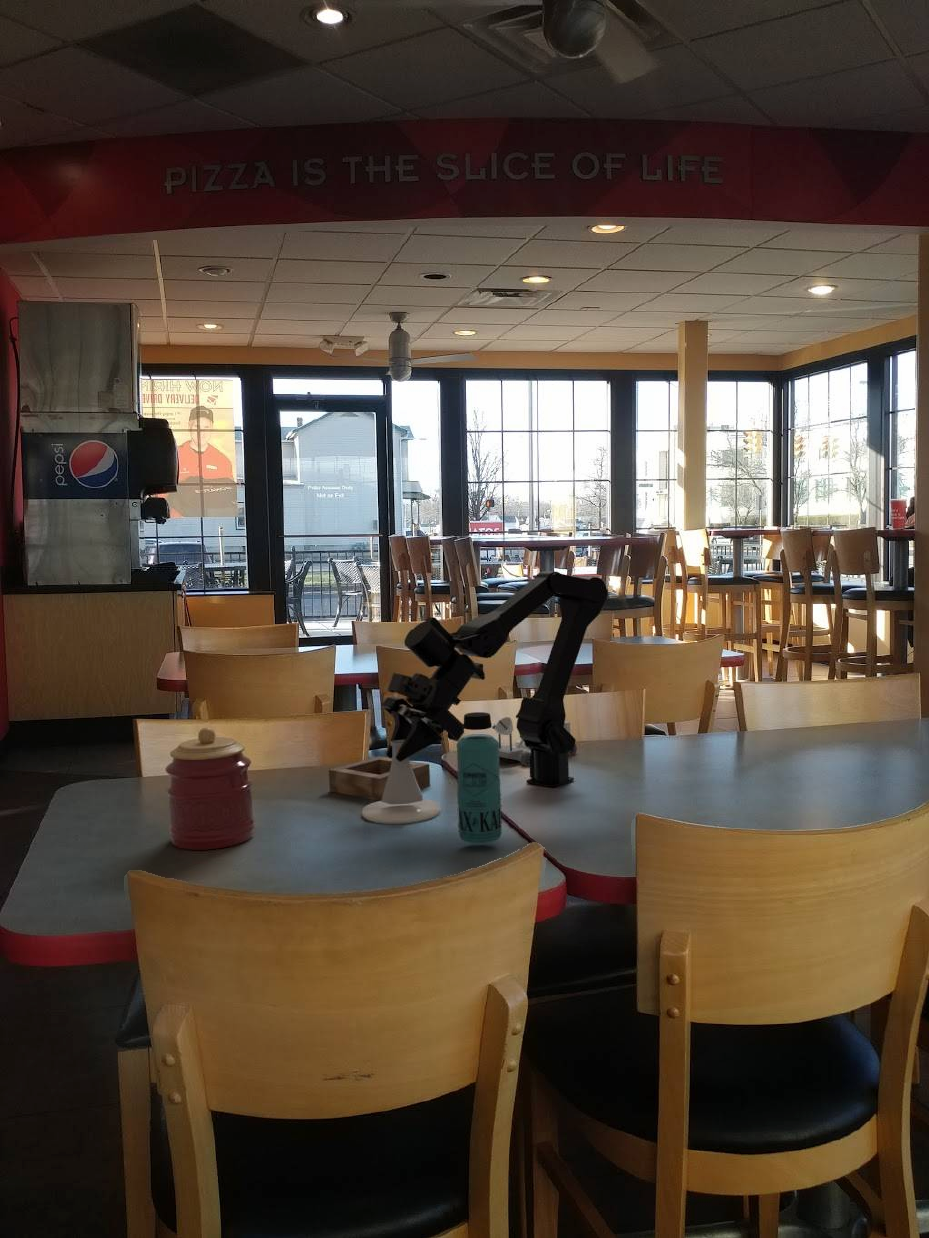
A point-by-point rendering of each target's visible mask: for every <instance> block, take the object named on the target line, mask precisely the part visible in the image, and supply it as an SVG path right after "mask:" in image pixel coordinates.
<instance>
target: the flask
mask: <svg viewBox="0 0 929 1238" xmlns="http://www.w3.org/2000/svg"><path fill="white" fill-rule="evenodd" d="M390 741H391V740H390ZM390 741H389V744H391V746H392V763H391V768H390V772H389V775H388V779H387V783H386V786H385V789H384V793H383V796H382V800H381V802H384V803H388V804H409V803H414V802H418V801H422V800H423V799H424V797H423V793H422V791H421V788H419V786H418V783H417V781H416V778H415V775H414V773H413V770H412V767H411V765H410V761H411V760H410V757H408V758H406V759H404V760H403V761H401V762H400V761H398V760H397V759H396V755H397V753H398V751H399V749H400V748H401V746H402V744H403V743H404V741H405V740H394V741H391V742H390Z"/></svg>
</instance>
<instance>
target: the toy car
mask: <svg viewBox="0 0 929 1238" xmlns="http://www.w3.org/2000/svg"><path fill="white" fill-rule="evenodd" d="M564 728H565V729H566V730H567V731H568V732H569V733H570V734H571V721H570V722H569V721H565V723H564ZM491 729H493V730H494V731H495V733H496V734H498V742H499V758H504V759H510V760H513V761H519V762H520V765H521V766H522V767H529V766H530V764H529V756H530V755H531V748H530V747H526V746H525V744H524V741H523V738H522V737H521V736H520V735H519V738H520V740H516V741H515V744H513V740H512V735H513V731H514V724H513V720H512V718H511V717H509V716H505V717H503V718H501V719H499V720H498V722H497V723H493V726H492V727H491ZM502 735H503V736H509V746H508V745H502V743H501V742H502V739H501V738H502V737H501V736H502ZM577 749H578V747H577V744H576V743H575V745H574V749H573V751H568V757H569V756H572V755H576V754H577Z"/></svg>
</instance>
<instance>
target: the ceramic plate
mask: <svg viewBox="0 0 929 1238" xmlns="http://www.w3.org/2000/svg"><path fill="white" fill-rule="evenodd" d="M361 812H362V818H364V820H365V821H368V822H371V823H377V824H383V825H385V824H386V825H403V824H413V823H418V822H425V821H427V820H428V821H429V820H430V819H433V818H436V817H437V816H438V815H440V813H441V805H440V803H439V802H436V801H435V800H430V799H426V798H423V800H422V801H418V802H414V803H409V804H388V803H384V802H381V801H375V802H372V803H369V804H367V805H365V806H364V807H363V808H362V810H361Z"/></svg>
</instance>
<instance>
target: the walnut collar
mask: <svg viewBox="0 0 929 1238" xmlns="http://www.w3.org/2000/svg"><path fill="white" fill-rule="evenodd" d="M409 761H410V765H411V767H412V770H413V773H414V775H415V778H416V781H417V783H418V786H419V788H420V789H423V788H427V787H431V777H430V776H431V772H430V771H431V770H430V764H429V763H423V762H418V761H414V760H413V761H412V760H409ZM391 763H392V758H389V757H388V756H380V755H378V756H374V757H372V758H368V759H364V760H360V761H356V762H353V763H349V764H345V765H342V766H338V767H334V768H331V769H330V768H329V769H328V783H329V792H331V793H338V794H343V795H348V796H352V797H358V798H364V799H367V800H373V801H376V802H378V801H381V800H382V796H383V793H384V789H385V786H386V783H387V779H388V775H389V772H390V768H391Z"/></svg>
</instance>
